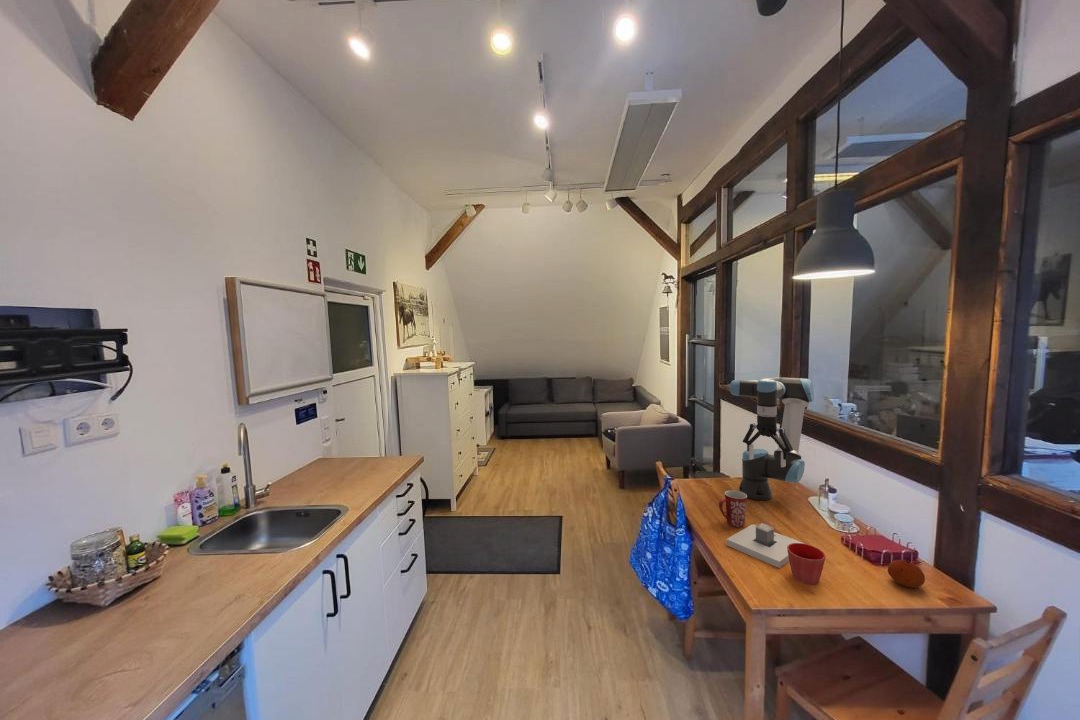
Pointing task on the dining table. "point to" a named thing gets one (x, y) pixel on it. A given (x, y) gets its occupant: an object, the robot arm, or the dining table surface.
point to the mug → (734, 508)
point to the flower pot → (806, 562)
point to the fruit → (906, 573)
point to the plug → (765, 534)
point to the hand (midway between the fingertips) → (766, 462)
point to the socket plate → (762, 546)
